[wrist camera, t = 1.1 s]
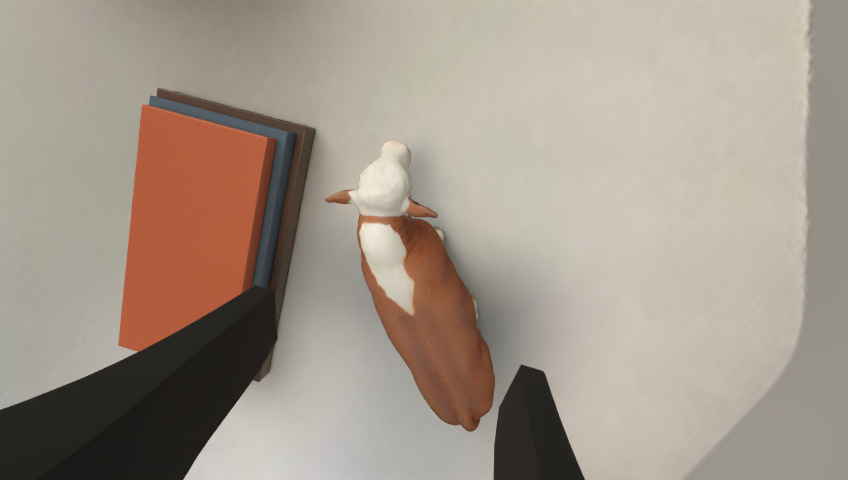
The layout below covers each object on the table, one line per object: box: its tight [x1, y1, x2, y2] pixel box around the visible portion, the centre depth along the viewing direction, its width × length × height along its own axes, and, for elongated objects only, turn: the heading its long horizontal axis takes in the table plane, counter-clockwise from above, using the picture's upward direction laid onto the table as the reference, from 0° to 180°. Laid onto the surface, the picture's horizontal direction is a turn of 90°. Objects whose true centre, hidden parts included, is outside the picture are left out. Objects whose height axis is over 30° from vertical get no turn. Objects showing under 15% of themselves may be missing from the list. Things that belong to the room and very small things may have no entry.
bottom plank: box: [157, 88, 315, 382], centre depth 24 cm, size 16×9×1 cm, turn 165°
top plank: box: [118, 104, 277, 352], centre depth 22 cm, size 14×7×1 cm, turn 165°
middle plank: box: [149, 96, 296, 289], centre depth 23 cm, size 15×8×1 cm, turn 165°
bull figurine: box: [325, 141, 495, 432], centre depth 19 cm, size 4×13×8 cm, turn 18°
